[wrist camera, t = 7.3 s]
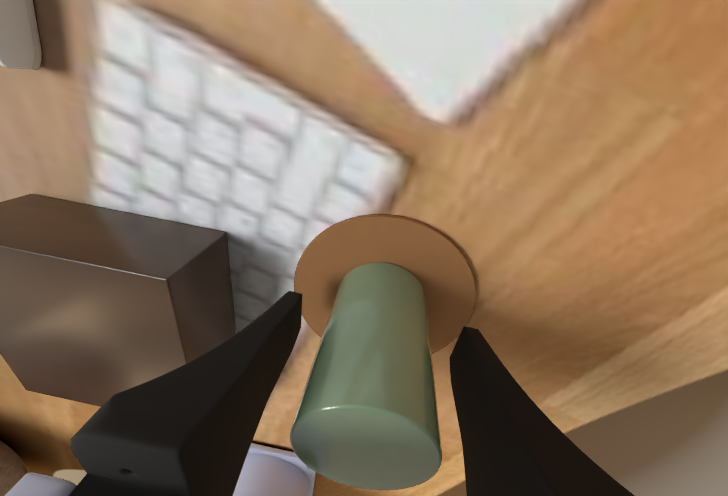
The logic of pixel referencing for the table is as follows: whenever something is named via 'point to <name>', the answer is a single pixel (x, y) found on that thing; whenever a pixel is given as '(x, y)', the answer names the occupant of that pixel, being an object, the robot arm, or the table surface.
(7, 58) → the hard drive
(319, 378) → the sage green cylinder
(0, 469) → the moon model
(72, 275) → the stand
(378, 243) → the coaster
